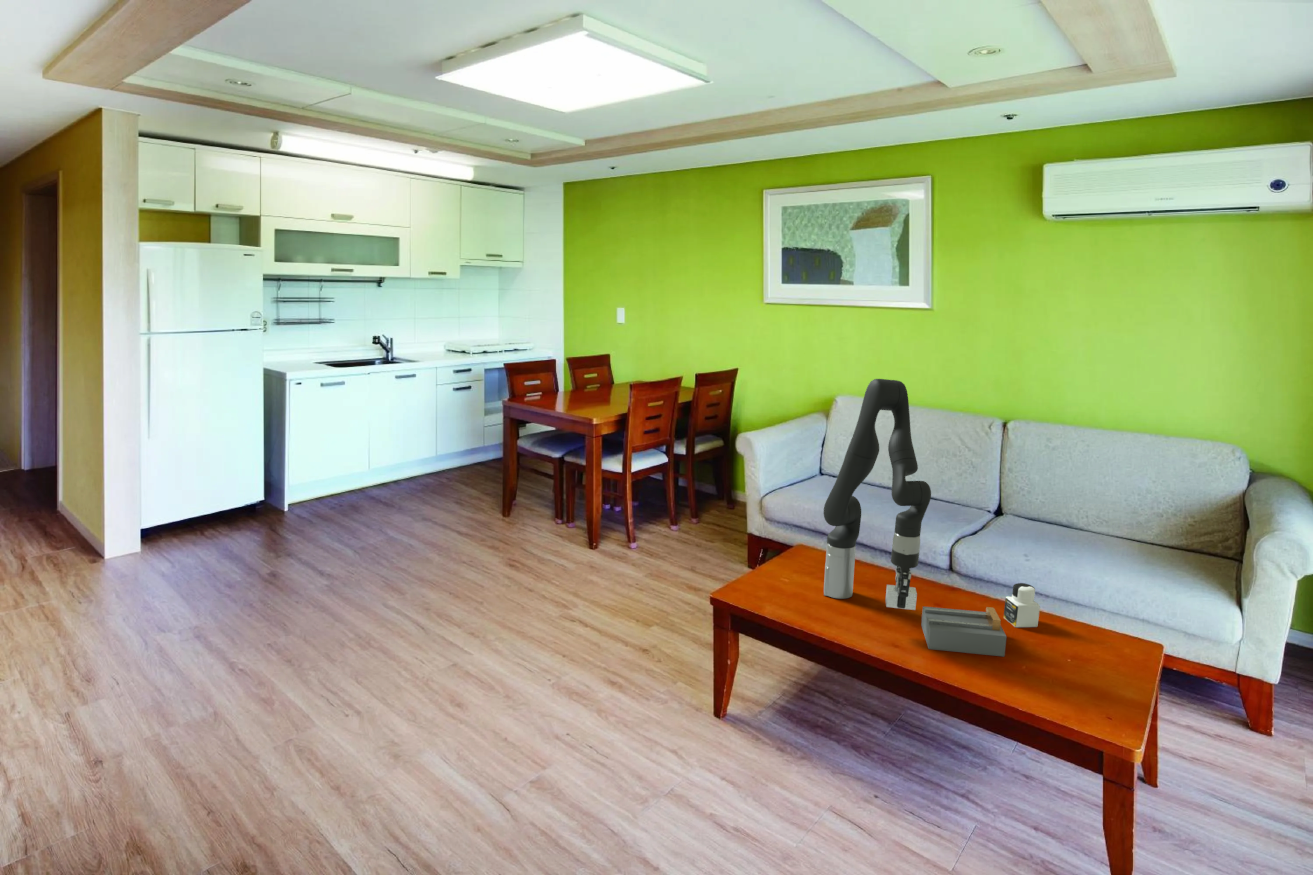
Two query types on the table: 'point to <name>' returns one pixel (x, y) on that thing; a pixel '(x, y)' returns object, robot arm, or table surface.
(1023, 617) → the medicine bottle
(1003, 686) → the table surface
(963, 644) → the channel stand
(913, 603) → the aluminium block
